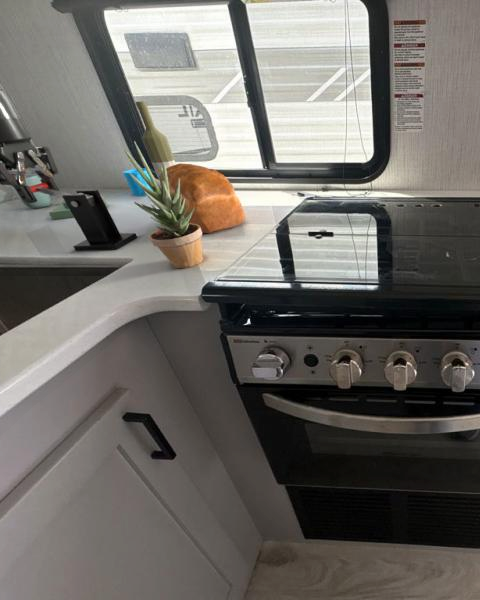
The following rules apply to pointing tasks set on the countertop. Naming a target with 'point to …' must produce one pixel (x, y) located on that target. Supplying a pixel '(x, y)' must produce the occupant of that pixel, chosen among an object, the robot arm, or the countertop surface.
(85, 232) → the bracket
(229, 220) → the bread
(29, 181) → the cup
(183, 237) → the potted plant
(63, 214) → the button block
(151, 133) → the bottle
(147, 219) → the countertop surface
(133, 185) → the mug
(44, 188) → the lever
